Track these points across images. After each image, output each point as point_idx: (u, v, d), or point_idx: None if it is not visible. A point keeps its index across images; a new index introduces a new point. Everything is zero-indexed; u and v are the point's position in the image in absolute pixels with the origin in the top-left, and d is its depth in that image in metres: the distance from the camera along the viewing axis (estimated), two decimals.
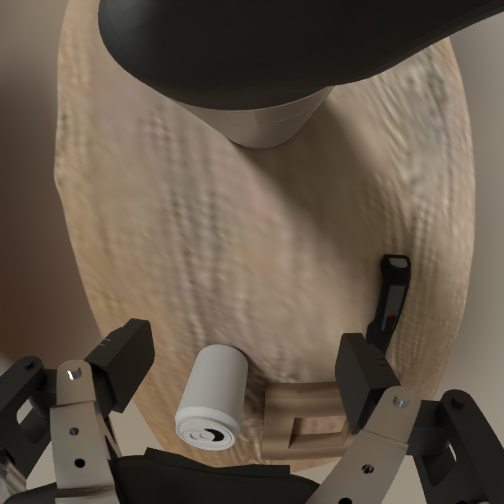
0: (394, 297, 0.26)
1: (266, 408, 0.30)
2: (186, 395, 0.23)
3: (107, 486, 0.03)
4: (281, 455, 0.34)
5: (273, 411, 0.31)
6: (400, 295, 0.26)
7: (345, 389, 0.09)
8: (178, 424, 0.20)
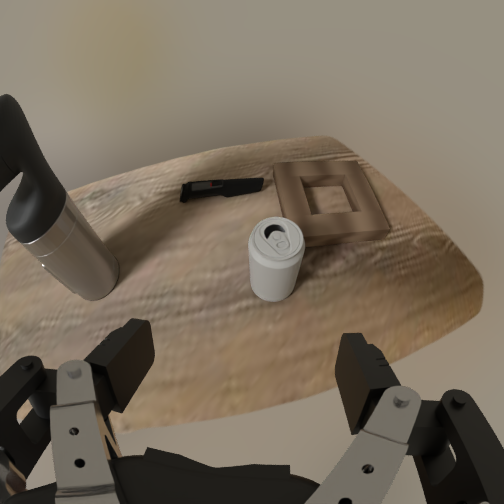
0: (199, 186, 0.47)
1: (304, 235, 0.40)
2: (258, 271, 0.31)
3: (107, 486, 0.03)
4: (374, 214, 0.42)
5: (306, 230, 0.41)
6: (198, 183, 0.48)
7: (345, 389, 0.09)
8: (268, 257, 0.28)
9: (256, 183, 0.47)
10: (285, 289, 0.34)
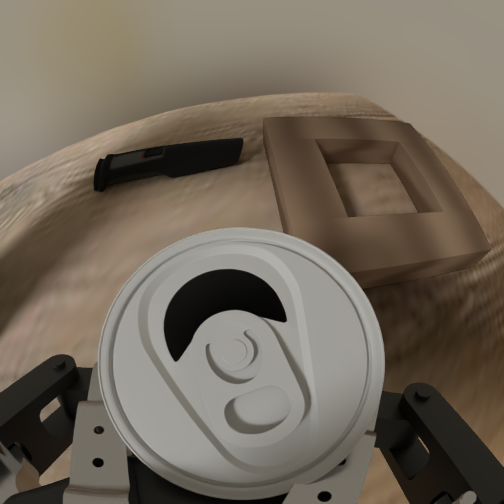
0: (123, 161, 0.23)
1: None
2: None
3: (107, 486, 0.03)
4: (464, 218, 0.17)
5: (340, 257, 0.16)
6: (124, 156, 0.23)
7: None
8: (172, 477, 0.03)
9: (227, 147, 0.23)
10: None
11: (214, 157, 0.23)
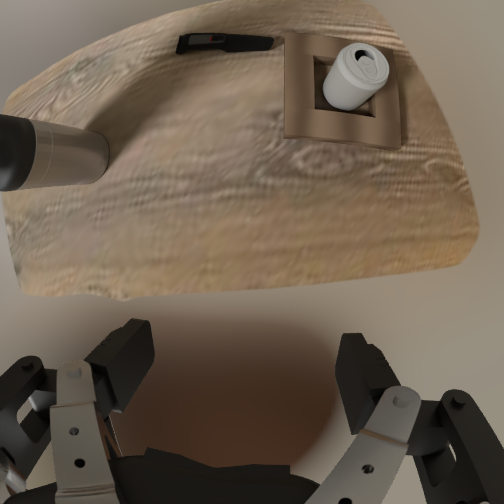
0: (197, 40, 0.31)
1: (299, 134, 0.33)
2: (342, 85, 0.26)
3: (107, 486, 0.03)
4: (390, 125, 0.32)
5: (304, 128, 0.33)
6: (197, 36, 0.31)
7: (345, 389, 0.09)
8: (357, 77, 0.23)
9: (263, 43, 0.31)
10: (358, 103, 0.30)
11: (255, 46, 0.32)
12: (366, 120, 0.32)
